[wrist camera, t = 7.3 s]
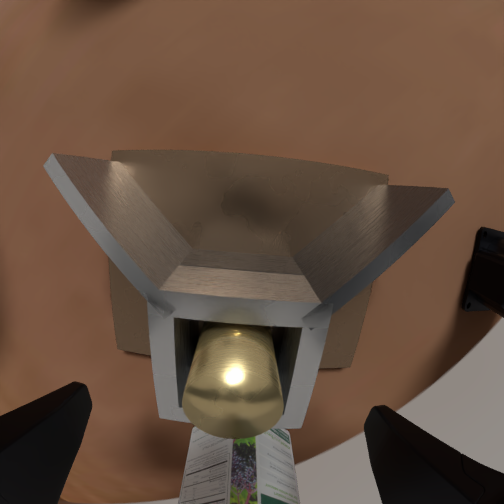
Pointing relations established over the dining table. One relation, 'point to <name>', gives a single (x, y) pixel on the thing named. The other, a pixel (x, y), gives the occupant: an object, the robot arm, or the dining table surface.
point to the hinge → (242, 254)
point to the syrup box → (240, 470)
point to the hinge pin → (233, 381)
